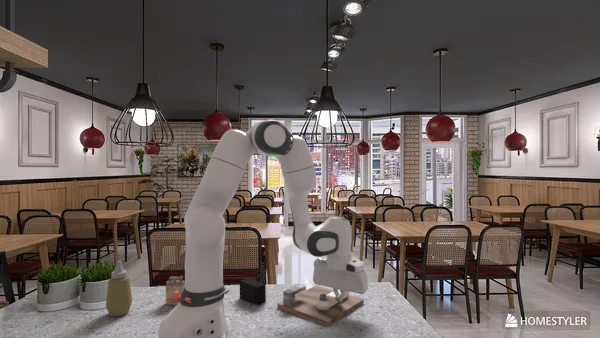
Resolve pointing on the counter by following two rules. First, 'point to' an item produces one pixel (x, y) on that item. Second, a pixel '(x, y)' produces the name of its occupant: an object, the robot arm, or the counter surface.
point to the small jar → (174, 289)
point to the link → (329, 301)
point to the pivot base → (306, 304)
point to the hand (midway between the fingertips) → (339, 300)
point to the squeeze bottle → (118, 292)
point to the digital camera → (253, 291)
